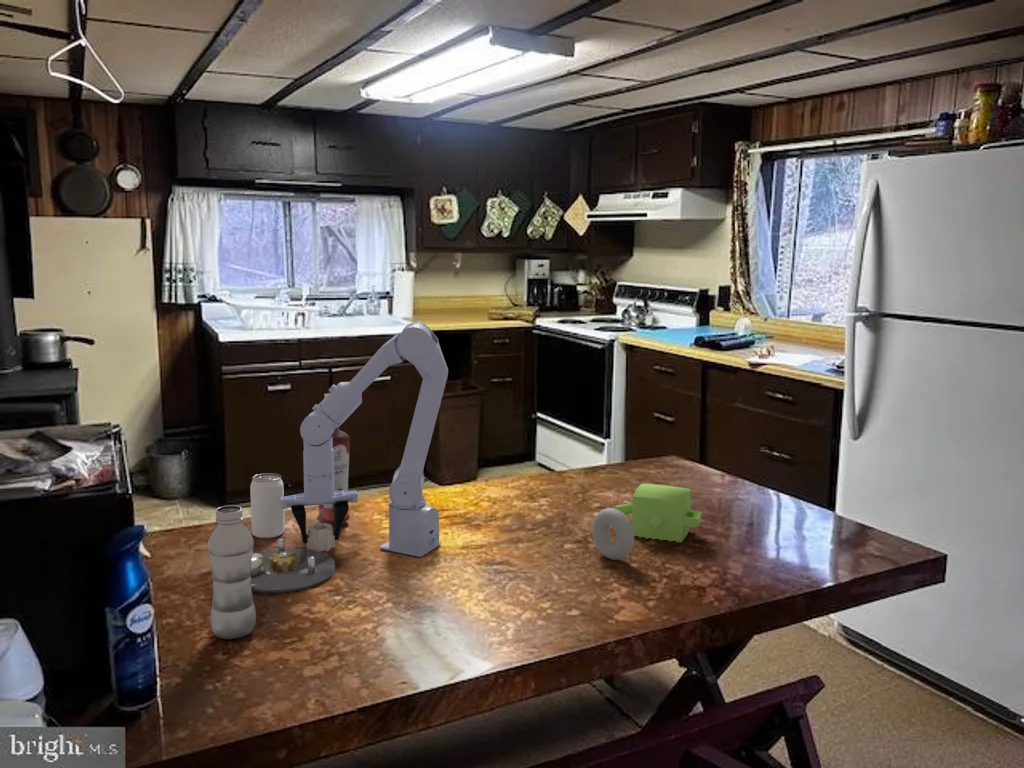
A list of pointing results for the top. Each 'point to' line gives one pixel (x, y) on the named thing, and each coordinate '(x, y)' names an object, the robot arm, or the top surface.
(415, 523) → the robot arm
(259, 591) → the carrier
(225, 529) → the plastic bottle
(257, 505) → the can
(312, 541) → the planet gear
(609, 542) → the donut
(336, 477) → the liquor
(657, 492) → the gearbox
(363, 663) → the top surface
